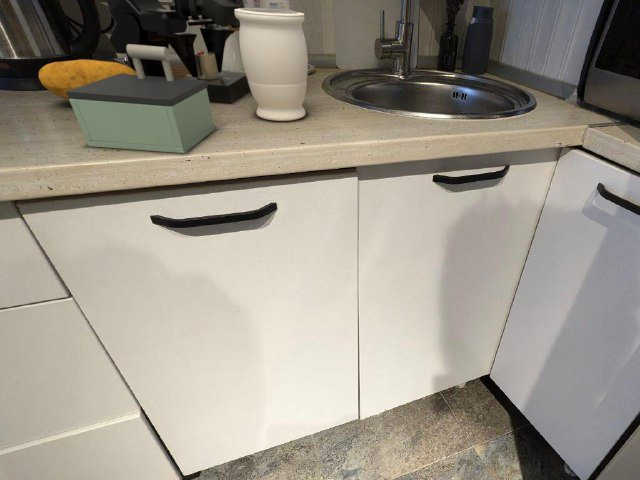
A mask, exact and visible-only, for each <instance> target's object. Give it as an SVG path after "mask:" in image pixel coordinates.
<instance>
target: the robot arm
mask: <svg viewBox="0 0 640 480" xmlns="http://www.w3.org/2000/svg"><path fill="white" fill-rule="evenodd" d="M106 3H107V8H108V11H109V13H110V15H111V17H112V18H113V20H114V22H115V23H116V24H115V27H114V28H113V31H112V32H111V35H110V37H109V43H110V44H111V47H112V48H113V49H114V51H115V52H116V53H117V54H124V55H126V57H127V60H128V66H129V67H130V68H132V69H133V70H134V71H136V69H135V66H134V63H133V59H132V58H131V57H130V56H129V55H128V53H127V49H126V47H127V45H128V44H133V45H145V46H157V47H166V48H168V50H170V47H171V49H172V50H173V51H174V52H175V54H176V55H177V56H178V58H179V59H180V61H181V62H182V64H183V65H184V67H185V68H186V70H187V71H188V72H189V75H192V77H195V78H197V77H198V69H197V63H196V58H195V52H196V51H195V47H194V44H195V41H196V38H197V36H198V34H197V33H192V32H191V29H190V27H195V26H196V27H197V26H203V27H199V31H200V34H201V36H202V39H203V42H204V45H205V48H206V52H213V53H215V58H216V63H217V68H218V73H221V71H223V63H224V55H225V47H226V43H227V40H228V39H229V38H230V37H231V35H233V34H235V31H236V30H235V29H240V21H239V20H238V19H237V18H236V16H235V9H239V8H245V4H244V0H173V4H168V7H169V9H167V8H166V7H165V6H164V5H162V3H161V2H160V1H159V0H106ZM229 26H230V27H231V28H233V29H230V28H229ZM140 61H141V65H142V68H143V71H144V75H145V76H154V77H166V75H165V71H164V67H163V63H162V60H151V59H140Z"/></svg>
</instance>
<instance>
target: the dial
mask: <svg viewBox="0 0 640 480" xmlns="http://www.w3.org/2000/svg"><path fill="white" fill-rule="evenodd" d="M194 52H195V58H196V63H197V69H198V77H197V78H198V79H203V80H213V79H218V78H219V73H218V68H217V63H216V58H215V53H213V52H208V51H204V50H200V51H198V50H197V51H194Z"/></svg>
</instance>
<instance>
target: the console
mask: <svg viewBox="0 0 640 480" xmlns="http://www.w3.org/2000/svg"><path fill="white" fill-rule="evenodd" d="M184 79H191V80H203V79H198V78H195V77H192V75H191V74H186V75H185V78H184ZM204 81H207V85H208V87H206V88H207V93H208V97H209V102H210V103H220V104H233V103H234V102H236V101H237V100H238V99H240V98H241V97H242V96H244V95H245V94H247V93H248V92H251V90H250V87H249V83H248V79H247V76H246V73H245V72H234V71H223V70H222V71H221V73H219V78H218V79H213V80H204Z"/></svg>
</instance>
